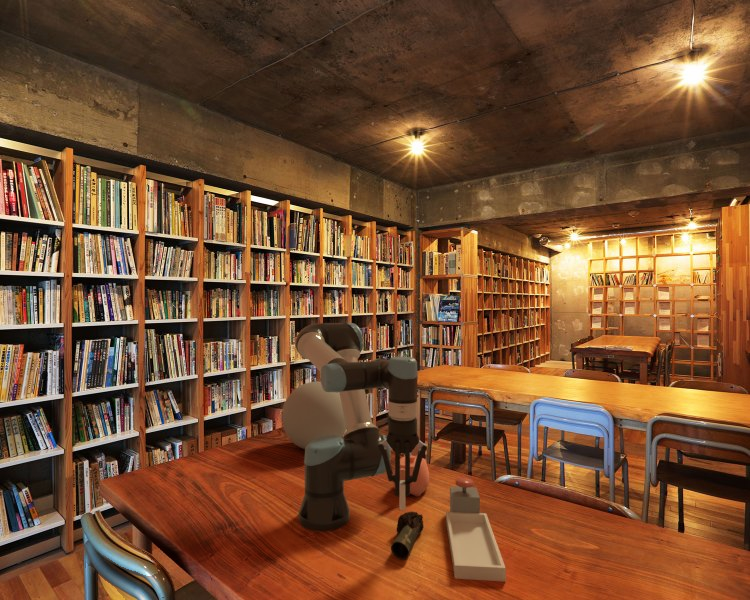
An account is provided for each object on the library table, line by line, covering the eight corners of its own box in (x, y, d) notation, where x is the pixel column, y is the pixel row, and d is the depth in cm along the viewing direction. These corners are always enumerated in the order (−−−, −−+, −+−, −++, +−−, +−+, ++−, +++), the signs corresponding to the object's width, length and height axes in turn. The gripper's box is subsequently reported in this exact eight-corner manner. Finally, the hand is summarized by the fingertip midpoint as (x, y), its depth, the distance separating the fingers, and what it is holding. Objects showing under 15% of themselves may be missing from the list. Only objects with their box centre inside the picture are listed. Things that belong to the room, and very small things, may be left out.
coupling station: (454, 580, 98) (454, 532, 98) (444, 512, 130) (444, 475, 130) (505, 583, 97) (505, 534, 97) (482, 513, 129) (482, 477, 129)
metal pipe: (408, 562, 104) (409, 539, 104) (383, 556, 106) (383, 533, 106) (426, 529, 120) (426, 509, 120) (403, 524, 123) (404, 504, 123)
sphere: (271, 458, 177) (271, 387, 177) (296, 436, 206) (295, 375, 207) (340, 462, 172) (340, 389, 172) (355, 439, 201) (355, 377, 202)
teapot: (403, 478, 156) (403, 446, 156) (434, 483, 152) (434, 450, 152) (384, 501, 138) (384, 464, 138) (419, 508, 133) (418, 470, 133)
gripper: (376, 420, 106) (376, 513, 106) (428, 421, 105) (428, 516, 105) (378, 412, 114) (378, 499, 113) (427, 413, 112) (427, 501, 112)
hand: (402, 507), depth 109 cm, fingers closed
